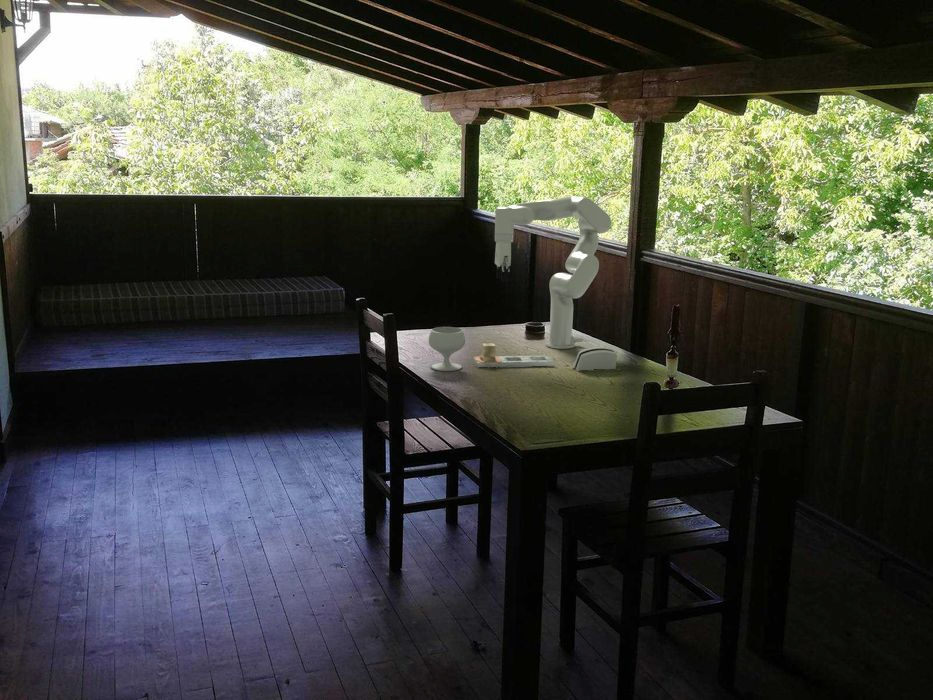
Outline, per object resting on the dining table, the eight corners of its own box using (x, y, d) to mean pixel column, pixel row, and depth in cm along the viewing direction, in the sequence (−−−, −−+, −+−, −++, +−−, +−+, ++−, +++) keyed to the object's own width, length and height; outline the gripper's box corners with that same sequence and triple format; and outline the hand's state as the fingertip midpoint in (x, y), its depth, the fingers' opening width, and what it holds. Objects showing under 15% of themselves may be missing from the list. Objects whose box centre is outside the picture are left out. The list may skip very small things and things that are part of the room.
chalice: (457, 362, 346) (458, 325, 342) (469, 371, 333) (470, 332, 329) (423, 365, 341) (423, 327, 338) (434, 373, 328) (435, 334, 325)
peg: (492, 363, 346) (493, 343, 344) (495, 365, 342) (495, 345, 340) (481, 363, 345) (482, 343, 344) (483, 366, 341) (484, 346, 339)
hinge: (610, 365, 345) (615, 344, 340) (615, 372, 342) (620, 350, 336) (571, 368, 340) (575, 346, 335) (575, 374, 337) (580, 352, 331)
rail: (547, 360, 352) (547, 354, 352) (553, 366, 342) (553, 360, 342) (473, 361, 347) (473, 356, 347) (477, 367, 338) (477, 362, 337)
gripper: (490, 235, 361) (489, 277, 365) (499, 240, 344) (497, 283, 348) (508, 235, 362) (507, 277, 366) (517, 240, 346) (516, 283, 349)
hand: (502, 280), depth 357 cm, fingers open, 9 cm apart
